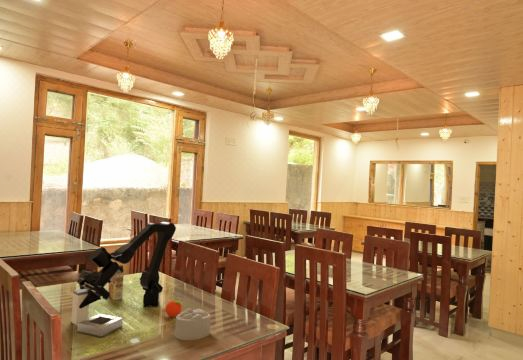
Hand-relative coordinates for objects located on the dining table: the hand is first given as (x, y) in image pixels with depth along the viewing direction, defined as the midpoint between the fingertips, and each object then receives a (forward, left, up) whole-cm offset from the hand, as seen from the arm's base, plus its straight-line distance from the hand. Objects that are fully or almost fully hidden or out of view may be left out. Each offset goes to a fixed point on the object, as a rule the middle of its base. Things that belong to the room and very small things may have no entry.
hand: (77, 306), depth 141 cm
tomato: (-38, -7, -7) cm, 39 cm away
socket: (-11, +7, -7) cm, 15 cm away
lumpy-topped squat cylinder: (-46, +11, -7) cm, 47 cm away
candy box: (-7, -33, -7) cm, 34 cm away
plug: (-1, -1, -7) cm, 7 cm away
